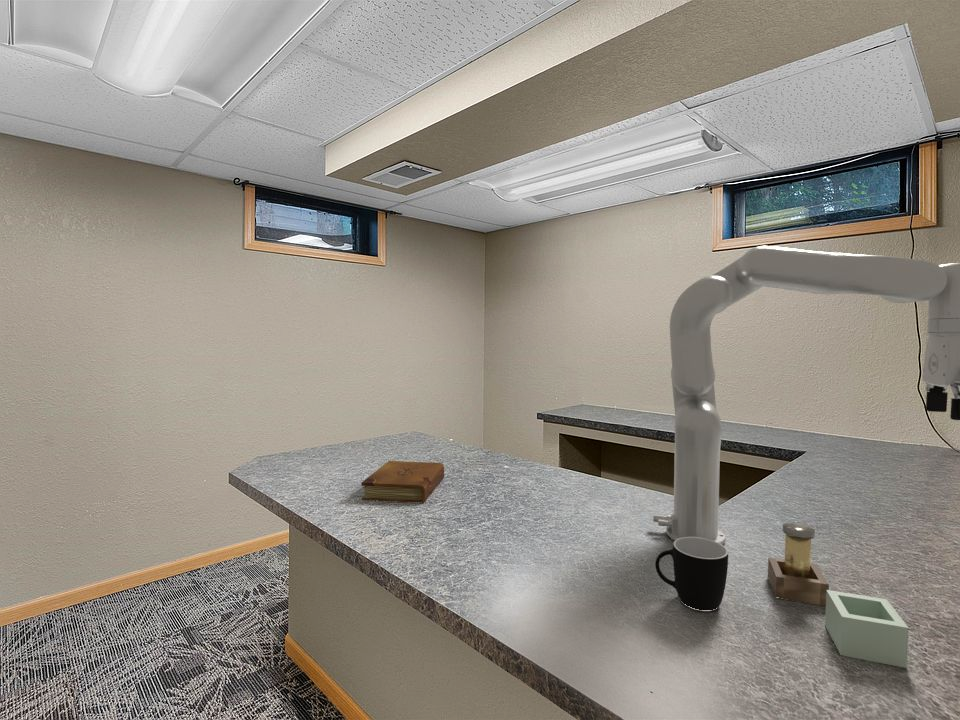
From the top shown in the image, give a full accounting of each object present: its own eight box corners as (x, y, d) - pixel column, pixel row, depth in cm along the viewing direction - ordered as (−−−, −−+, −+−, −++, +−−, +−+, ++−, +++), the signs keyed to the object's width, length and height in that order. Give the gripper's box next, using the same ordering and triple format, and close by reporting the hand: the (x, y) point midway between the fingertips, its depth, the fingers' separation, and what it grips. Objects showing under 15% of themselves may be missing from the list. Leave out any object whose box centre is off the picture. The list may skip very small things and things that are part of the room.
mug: (727, 596, 91) (729, 542, 90) (725, 622, 83) (727, 563, 82) (658, 580, 97) (659, 529, 96) (650, 603, 89) (651, 548, 88)
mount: (775, 597, 90) (776, 576, 90) (767, 577, 98) (768, 557, 97) (827, 606, 87) (828, 584, 87) (815, 584, 95) (816, 563, 95)
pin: (783, 595, 91) (785, 531, 90) (778, 582, 96) (780, 521, 95) (815, 600, 89) (818, 535, 89) (808, 586, 94) (810, 524, 93)
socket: (840, 655, 75) (841, 616, 74) (825, 625, 82) (826, 589, 82) (906, 668, 72) (908, 627, 71) (884, 635, 79) (886, 599, 79)
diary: (425, 505, 140) (424, 485, 139) (361, 502, 143) (361, 482, 143) (444, 479, 163) (444, 462, 162) (389, 477, 166) (389, 460, 165)
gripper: (909, 327, 106) (905, 407, 107) (952, 328, 90) (946, 422, 91) (954, 327, 103) (949, 409, 105) (1006, 328, 87) (1000, 425, 88)
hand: (948, 415), depth 98 cm, fingers open, 9 cm apart
